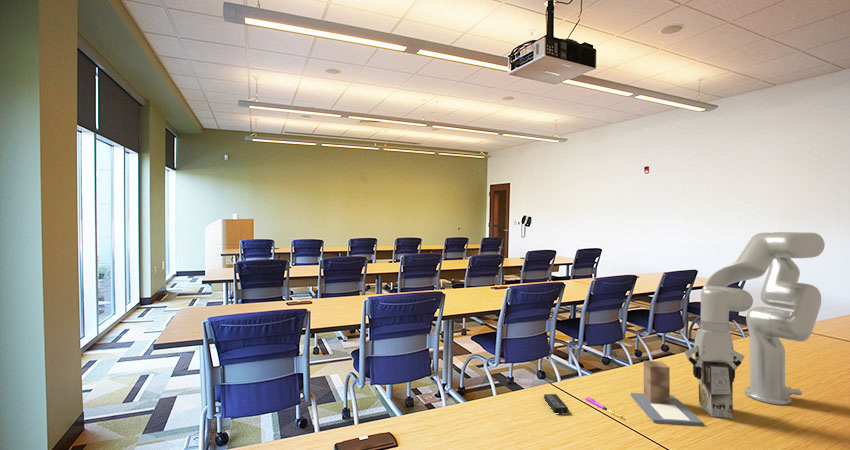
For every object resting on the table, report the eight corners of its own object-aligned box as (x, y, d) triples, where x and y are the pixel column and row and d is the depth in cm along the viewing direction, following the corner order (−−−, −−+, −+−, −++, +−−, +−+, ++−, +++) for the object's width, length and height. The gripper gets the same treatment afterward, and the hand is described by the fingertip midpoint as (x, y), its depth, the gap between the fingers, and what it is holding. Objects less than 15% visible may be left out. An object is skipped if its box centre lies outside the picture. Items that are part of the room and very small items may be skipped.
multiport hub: (556, 400, 142) (556, 393, 142) (568, 415, 131) (568, 408, 131) (543, 400, 142) (543, 394, 142) (555, 415, 131) (554, 408, 131)
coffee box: (734, 418, 127) (733, 367, 127) (711, 416, 129) (710, 366, 129) (719, 405, 136) (718, 358, 136) (697, 404, 137) (697, 356, 137)
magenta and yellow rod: (584, 400, 142) (622, 420, 127) (585, 396, 142) (623, 417, 127) (590, 400, 143) (628, 421, 128) (590, 397, 143) (629, 417, 128)
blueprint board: (673, 397, 143) (672, 361, 143) (703, 425, 123) (702, 383, 123) (630, 395, 145) (630, 359, 145) (653, 422, 125) (653, 380, 125)
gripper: (736, 325, 135) (735, 377, 135) (680, 322, 137) (679, 373, 137) (751, 331, 127) (750, 385, 127) (691, 327, 130) (690, 381, 130)
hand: (713, 379), depth 132 cm, fingers open, 9 cm apart
